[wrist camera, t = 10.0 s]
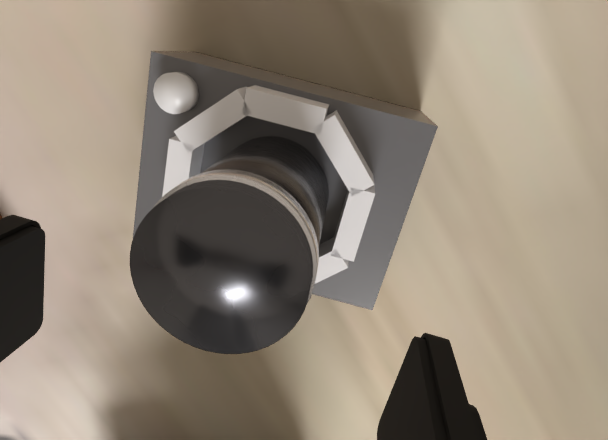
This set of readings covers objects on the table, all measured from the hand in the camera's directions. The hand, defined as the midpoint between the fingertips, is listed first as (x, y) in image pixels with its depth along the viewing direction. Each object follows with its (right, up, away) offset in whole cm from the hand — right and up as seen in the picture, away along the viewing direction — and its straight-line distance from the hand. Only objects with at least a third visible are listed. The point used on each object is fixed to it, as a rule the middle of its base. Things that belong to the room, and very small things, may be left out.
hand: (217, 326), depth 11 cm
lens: (+1, +4, +9) cm, 9 cm away
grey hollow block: (+1, +6, +13) cm, 14 cm away
